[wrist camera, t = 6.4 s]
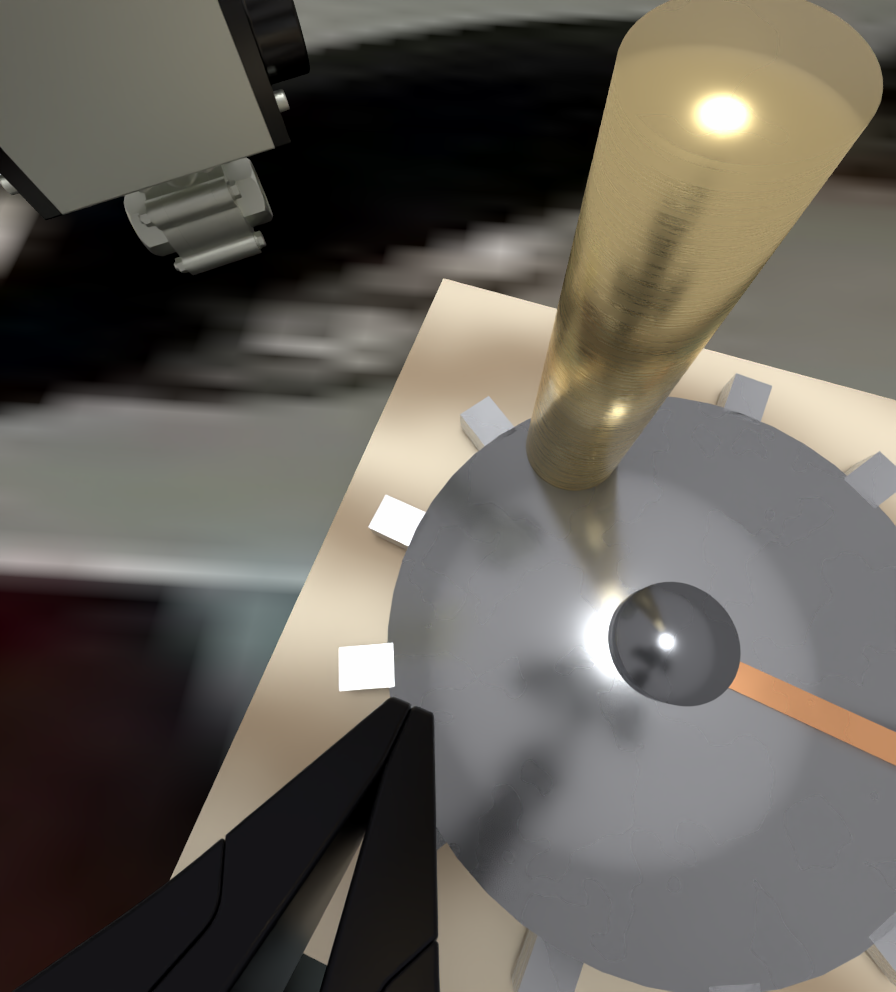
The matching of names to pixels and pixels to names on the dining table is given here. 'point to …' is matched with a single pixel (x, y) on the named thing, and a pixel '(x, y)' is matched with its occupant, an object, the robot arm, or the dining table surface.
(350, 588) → the sprocket base
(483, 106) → the dining table surface
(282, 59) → the pneumatic valve
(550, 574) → the sprocket
